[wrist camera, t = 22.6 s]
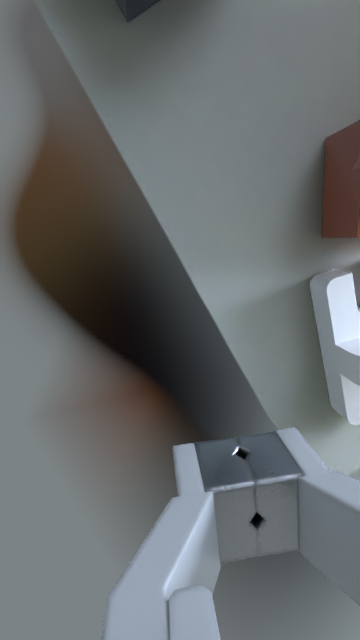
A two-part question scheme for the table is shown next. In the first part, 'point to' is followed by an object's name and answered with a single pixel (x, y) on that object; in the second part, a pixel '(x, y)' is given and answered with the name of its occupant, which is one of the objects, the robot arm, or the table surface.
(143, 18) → the table surface
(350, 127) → the orange push button block
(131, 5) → the grey push button box
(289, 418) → the table surface
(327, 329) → the tape dispenser
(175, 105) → the table surface
